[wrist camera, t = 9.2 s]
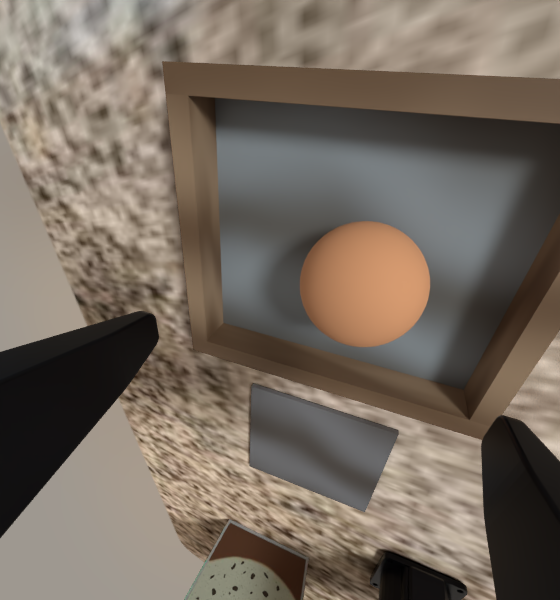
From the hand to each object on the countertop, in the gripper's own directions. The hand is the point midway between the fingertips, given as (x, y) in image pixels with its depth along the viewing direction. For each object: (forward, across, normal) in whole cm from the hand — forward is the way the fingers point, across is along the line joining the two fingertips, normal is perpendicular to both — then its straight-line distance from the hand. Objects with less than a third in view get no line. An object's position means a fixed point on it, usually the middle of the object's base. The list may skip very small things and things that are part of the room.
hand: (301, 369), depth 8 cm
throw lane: (+9, 0, +7) cm, 11 cm away
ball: (+6, -1, 0) cm, 6 cm away
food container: (+9, +3, +37) cm, 38 cm away
